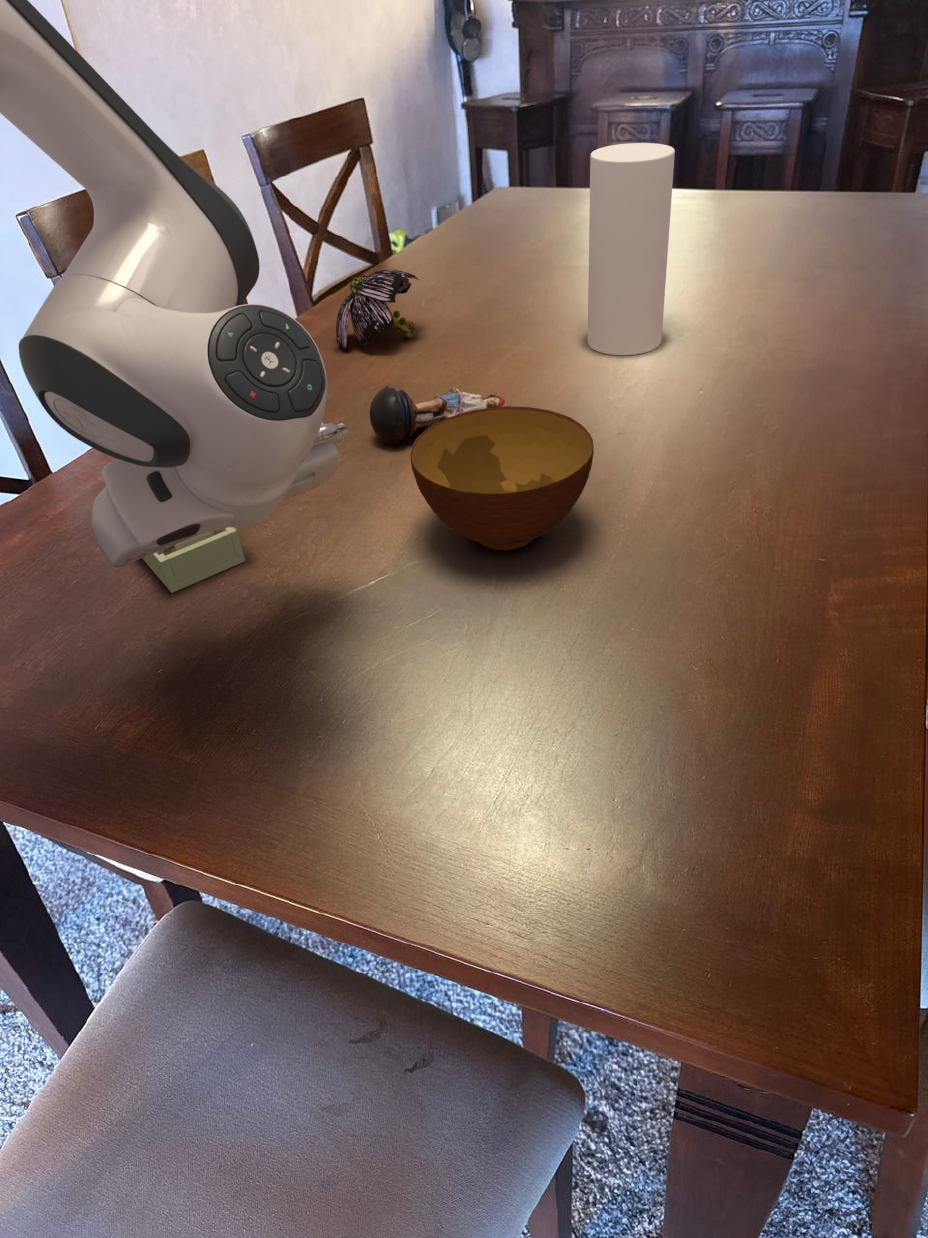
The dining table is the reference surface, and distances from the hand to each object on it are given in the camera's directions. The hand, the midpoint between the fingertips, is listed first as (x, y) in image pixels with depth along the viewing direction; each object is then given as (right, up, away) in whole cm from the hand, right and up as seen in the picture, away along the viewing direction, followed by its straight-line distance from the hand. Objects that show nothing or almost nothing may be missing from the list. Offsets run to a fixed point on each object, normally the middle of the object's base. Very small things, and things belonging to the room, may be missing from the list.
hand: (212, 523), depth 76 cm
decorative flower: (+10, +35, +58) cm, 68 cm away
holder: (-8, -1, +16) cm, 18 cm away
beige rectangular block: (-6, -2, +13) cm, 14 cm away
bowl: (+27, 0, +13) cm, 30 cm away
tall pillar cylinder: (+46, +32, +50) cm, 75 cm away
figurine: (+20, +15, +33) cm, 41 cm away
